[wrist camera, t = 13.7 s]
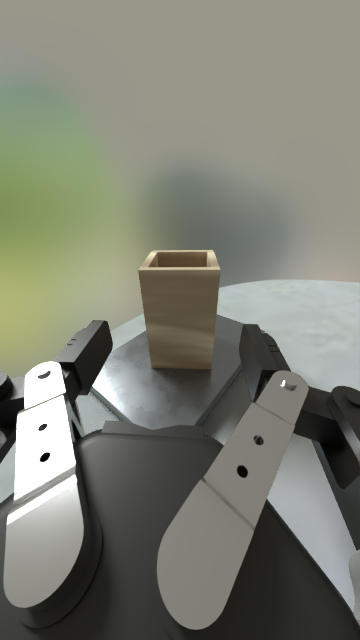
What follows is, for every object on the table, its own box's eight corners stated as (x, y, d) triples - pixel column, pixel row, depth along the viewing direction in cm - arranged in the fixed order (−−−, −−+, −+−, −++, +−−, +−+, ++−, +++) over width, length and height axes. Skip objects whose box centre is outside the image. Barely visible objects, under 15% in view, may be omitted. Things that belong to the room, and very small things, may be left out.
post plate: (188, 312, 32) (187, 264, 28) (262, 340, 26) (276, 283, 22) (82, 383, 20) (55, 318, 16) (171, 467, 14) (163, 394, 10)
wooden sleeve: (159, 332, 25) (152, 250, 20) (207, 333, 25) (213, 250, 20) (151, 367, 20) (138, 270, 15) (211, 369, 20) (220, 269, 14)
